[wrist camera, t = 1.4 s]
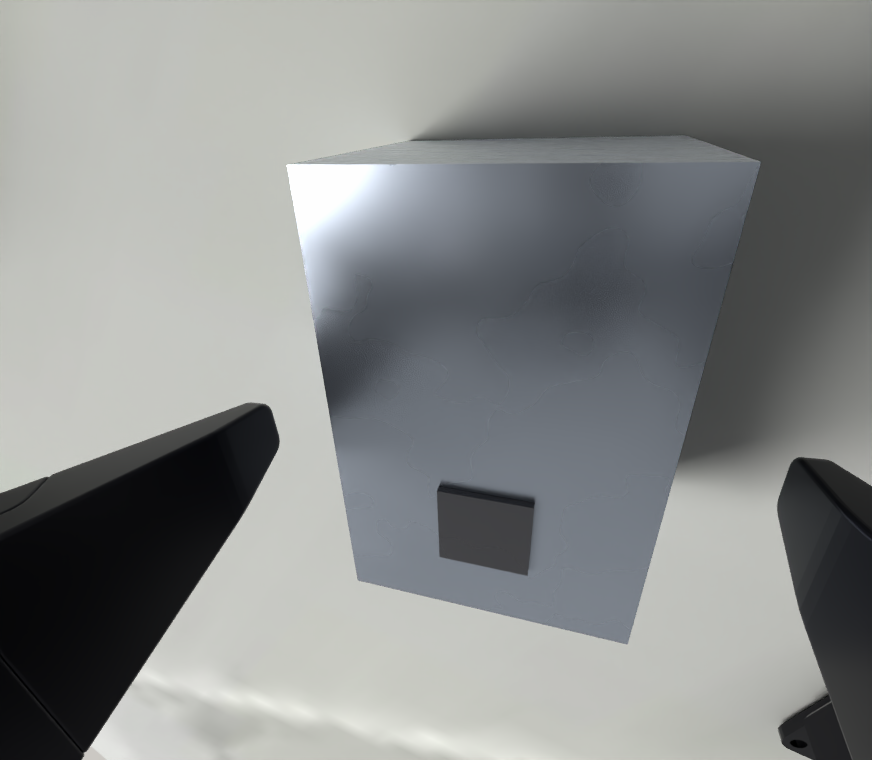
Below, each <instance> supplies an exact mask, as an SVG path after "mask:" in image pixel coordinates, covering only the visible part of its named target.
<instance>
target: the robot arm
mask: <svg viewBox="0 0 872 760" xmlns="http://www.w3.org/2000/svg"><path fill="white" fill-rule="evenodd" d="M279 442H280V440H279V434H278V431H277V427H276V424H275V420H274V417H273V413H272V410H271V409H270V407H269V406H268V405H266V404H260V403H245V404H243V405H240V406H237V407H234V408H232V409H229V410H226V411H224V412H221V413H218V414H215V415H213V416H210V417H207V418H205V419H202V420H199V421H196V422H194V423H191V424H188V425H186V426H183V427H180V428H177V429H175V430H172V431H169V432H167V433H164V434H161V435H158V436H156V437H153V438H150V439H148V440H145V441H142V442H139V443H137V444H134V445H131V446H129V447H126V448H123V449H120V450H118V451H115V452H112V453H109V454H107V455H104V456H101V457H99V458H96V459H93V460H90V461H88V462H85V463H82V464H80V465H77V466H74V467H71V468H69V469H66V470H63V471H61V472H58V473H55V474H53V475H51V476H50V477H44V478H41V479H39V480H36V481H33V482H30V483H28V484H25V485H22V486H19V487H17V488H14V489H11V490H8V491H5V492H3V493H0V760H82V759H83V757H84V752H86V751H87V750H88V749H89V747H90V746H91V744H92V743H93V741H94V740H95V738H96V737H97V735H98V734H99V732H100V731H101V729H102V728H103V726H104V725H105V723H106V722H107V720H108V719H109V717H110V715H111V714H112V712H113V711H114V709H115V708H116V706H117V705H118V703H119V702H120V700H121V699H122V697H123V696H124V694H125V693H126V691H127V690H128V688H129V687H130V685H131V684H132V682H133V681H134V679H135V678H136V676H137V675H138V673H139V672H140V670H141V669H142V667H143V666H144V664H145V663H146V661H147V660H148V658H149V657H150V655H151V653H152V652H153V650H154V649H155V647H156V646H157V644H158V643H159V641H160V640H161V638H162V637H163V635H164V634H165V632H166V631H167V629H168V628H169V626H170V625H171V623H172V622H173V620H174V619H175V617H176V616H177V614H178V613H179V611H180V610H181V608H182V607H183V605H184V604H185V602H186V601H187V599H188V598H189V596H190V595H191V593H192V591H193V590H194V588H195V587H196V585H197V584H198V582H199V581H200V579H201V578H202V576H203V575H204V573H205V572H206V570H207V569H208V567H209V566H210V564H211V563H212V561H213V560H214V558H215V557H216V555H217V554H218V552H219V551H220V549H221V548H222V546H223V545H224V543H225V542H226V540H227V539H228V537H229V536H230V534H231V533H232V531H233V530H234V528H235V526H236V525H237V523H238V522H239V520H240V519H241V517H242V516H243V514H244V512H245V511H246V509H247V507H248V505H249V503H250V502H251V500H252V498H253V496H254V494H255V492H256V490H257V488H258V486H259V485H260V483H261V481H262V479H263V477H264V475H265V473H266V471H267V469H268V468H269V466H270V464H271V462H272V460H273V458H274V456H275V454H276V453H277V450H278V448H279ZM777 512H778V518H779V523H780V527H781V532H782V536H783V541H784V545H785V550H786V554H787V559H788V563H789V568H790V572H791V577H792V581H793V586H794V590H795V595H796V599H797V603H798V607H799V611H800V614H801V617H802V620H803V623H804V626H805V629H806V632H807V635H808V637H809V640H810V643H811V646H812V649H813V651H814V654H815V657H816V660H817V663H818V665H819V668H820V671H821V674H822V677H823V680H824V682H825V685H826V688H827V691H828V694H829V696H827V697H825V698H824V699H822V700H821V701H819V702H817V703H816V704H814V705H812V706H811V707H809V708H808V709H806V710H804V711H803V712H801V713H800V714H798V715H796V716H795V717H793V718H791V719H790V720H788V721H787V722H785V723H783V724H782V725H780V726H779V728H778V731H779V735H780V738H781V742H782V744H783V745H784V746H785V747H786V748H788V749H790V750H792V751H794V752H797V753H799V754H801V755H803V756H806V757H808V758H810V759H812V760H872V486H871V485H869V484H867V483H866V482H864V481H863V480H861V479H859V478H858V477H856V476H855V475H853V474H851V473H850V472H848V471H846V470H845V469H843V468H842V467H840V466H838V465H837V464H835V463H834V462H832V461H829V460H825V459H814V458H804V457H798V458H796V459H794V460H793V462H792V463H791V465H790V467H789V470H788V473H787V475H786V478H785V481H784V484H783V487H782V490H781V493H780V495H779V499H778V504H777Z"/></svg>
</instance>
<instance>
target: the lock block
mask: <svg viewBox="0 0 872 760" xmlns="http://www.w3.org/2000/svg"><path fill="white" fill-rule="evenodd" d="M760 164H761V162H760V161H757V160H754V159H752V158H749V157H746V156H743V155H740V154H737V153H735V152H732V151H729V150H726V149H723V148H720V147H718V146H715V145H712V144H709V143H706V142H704V141H701V140H698V139H695V138H692V137H689V136H687V135H675V136H624V137H573V138H523V139H472V140H421V141H405V142H400V143H395V144H390V145H385V146H380V147H375V148H370V149H365V150H360V151H355V152H350V153H345V154H340V155H335V156H330V157H325V158H320V159H315V160H309V161H304V162H299V163H294V164H289V165H287V168H288V174H289V180H290V185H291V191H292V197H293V203H294V209H295V215H296V221H297V227H298V232H299V238H300V244H301V250H302V256H303V262H304V268H305V273H306V279H307V285H308V291H309V297H310V303H311V309H312V314H313V320H314V326H315V332H316V338H317V344H318V350H319V356H320V361H321V367H322V373H323V379H324V385H325V391H326V397H327V402H328V408H329V414H330V420H331V426H332V432H333V438H334V443H335V449H336V455H337V461H338V467H339V473H340V479H341V485H342V490H343V496H344V502H345V508H346V514H347V520H348V526H349V531H350V537H351V543H352V549H353V555H354V561H355V567H356V572H357V578H358V580H359V581H363V582H367V583H372V584H376V585H380V586H384V587H388V588H393V589H397V590H401V591H405V592H409V593H414V594H418V595H422V596H426V597H430V598H435V599H439V600H443V601H447V602H451V603H456V604H460V605H464V606H468V607H473V608H477V609H481V610H485V611H489V612H494V613H498V614H502V615H506V616H510V617H515V618H519V619H523V620H527V621H531V622H536V623H540V624H544V625H548V626H552V627H557V628H561V629H565V630H569V631H573V632H578V633H582V634H586V635H590V636H594V637H599V638H603V639H607V640H611V641H615V642H620V643H624V644H628V641H629V637H630V633H631V630H632V626H633V623H634V619H635V615H636V612H637V608H638V605H639V601H640V597H641V594H642V590H643V587H644V583H645V579H646V576H647V572H648V569H649V565H650V561H651V558H652V554H653V550H654V547H655V543H656V540H657V536H658V532H659V529H660V525H661V522H662V518H663V514H664V511H665V507H666V504H667V500H668V496H669V493H670V489H671V486H672V482H673V478H674V475H675V471H676V468H677V464H678V460H679V457H680V453H681V449H682V446H683V442H684V439H685V435H686V431H687V428H688V424H689V421H690V417H691V413H692V410H693V406H694V403H695V399H696V395H697V392H698V388H699V385H700V381H701V377H702V374H703V370H704V366H705V363H706V359H707V356H708V352H709V348H710V345H711V341H712V338H713V334H714V330H715V327H716V323H717V320H718V316H719V312H720V309H721V305H722V302H723V298H724V294H725V291H726V287H727V284H728V280H729V276H730V273H731V269H732V265H733V262H734V258H735V255H736V251H737V247H738V244H739V240H740V237H741V233H742V229H743V226H744V222H745V219H746V215H747V211H748V208H749V204H750V201H751V197H752V193H753V190H754V186H755V182H756V179H757V175H758V172H759V168H760Z"/></svg>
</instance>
